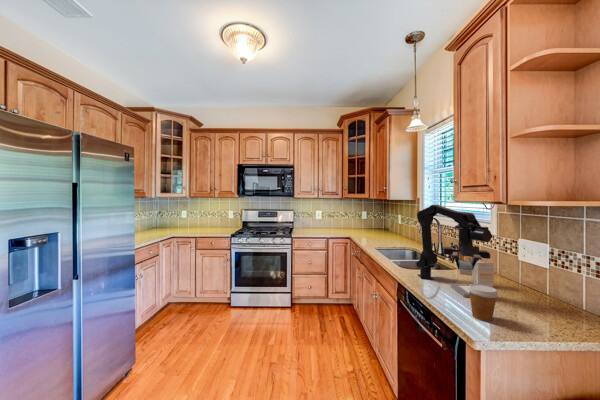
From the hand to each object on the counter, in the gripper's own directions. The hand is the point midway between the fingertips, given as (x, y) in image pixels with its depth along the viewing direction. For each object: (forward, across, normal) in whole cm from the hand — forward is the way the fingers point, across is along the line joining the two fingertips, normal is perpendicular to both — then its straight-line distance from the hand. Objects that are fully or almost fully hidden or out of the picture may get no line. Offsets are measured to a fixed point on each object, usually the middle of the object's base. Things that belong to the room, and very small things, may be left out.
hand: (464, 269), depth 118 cm
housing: (+2, 0, 0) cm, 2 cm away
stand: (+12, +3, +3) cm, 13 cm away
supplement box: (+12, +10, +18) cm, 24 cm away
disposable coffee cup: (+12, +3, -25) cm, 28 cm away
